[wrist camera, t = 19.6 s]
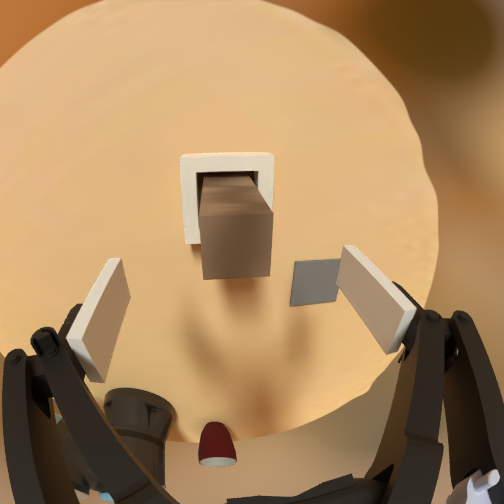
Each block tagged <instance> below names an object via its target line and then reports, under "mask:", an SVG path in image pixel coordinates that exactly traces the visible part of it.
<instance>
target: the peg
mask: <svg viewBox="0 0 504 504" xmlns="http://www.w3.org/2000/svg"><path fill="white" fill-rule="evenodd" d="M199 227H200V242H201V256H202V269H203V280H212V279H231V278H249V277H266V276H270V265H271V248H272V230H273V212H272V211H271V209H270V207H269V206H268V204H267V203H266V201H265V200H264V198H263V196H262V195H261V193H260V192H259V190H258V189H257V187H256V186H255V184H254V183H253V181H252V180H251V178H250V176H249V175H248V173H247V172H228V173H204V180H203V188H202V195H201V203H200V211H199Z"/></svg>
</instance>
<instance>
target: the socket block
mask: <svg viewBox="0 0 504 504" xmlns="http://www.w3.org/2000/svg"><path fill="white" fill-rule="evenodd" d="M218 171H254V184H255V186H256V187H257V189H258V190H259V192H260V193H261V195H262V196H263V198H264V200H265V201H266V203H267V204H268V206H269V207H270V209H271V211H272V201H273V178H274V155H272V154H270V153H269V152H223V153H196V154H183V155H182V156H181V157H180V176H181V193H182V208H183V221H184V233H185V244H201V242H200V227H199V193H198V172H218Z"/></svg>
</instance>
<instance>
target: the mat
mask: <svg viewBox="0 0 504 504" xmlns="http://www.w3.org/2000/svg"><path fill="white" fill-rule="evenodd" d="M340 261H341V259H327V260H311V261H295V264H294V273H293V282H292V290H291V299H290V306H297V305H307V304H316V303H325V302H333V301H336V297H337V293H338V289H339V287H338V285H337V284H336V282H337V277H338V272H339V266H340Z"/></svg>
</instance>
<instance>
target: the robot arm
mask: <svg viewBox="0 0 504 504" xmlns="http://www.w3.org/2000/svg"><path fill="white" fill-rule="evenodd" d="M336 284H337V285H338V287H339V288H340V290H341V291H342V292H343V294H344V295H345V296H346V298H347V299H348V301H349V302H350V303H351V305H352V306H353V308H354V309H355V310H356V312H357V313H358V315H359V316H360V318H361V319H362V320H363V322H364V323H365V325H366V326H367V328H368V329H369V330H370V332H371V333H372V335H373V336H374V338H375V339H376V341H377V342H378V344H379V345H380V347H381V348H382V350H383V351H384V353H385V354H386V355H387V354H390V353H393V352H397V351H398V349H399V347H400V345H401V343H403V344H404V346H405V349H404V351H403V353H402V355H401V357H400V359H399V361H398V363H400V361H401V366H400V371H399V376H398V381H397V385H396V389H395V394H394V398H393V402H392V406H391V410H390V413H389V417H388V421H387V424H386V427H385V430H384V434H383V437H382V440H381V443H380V446H379V449H378V452H377V454H376V457H375V460H374V462H373V464H372V466H371V467H370V469H369V470H368V472H367V473H366V475H365V477H364V478H353V476H352V474H349V475H346V476H342V477H339V478H336V479H333V480H330V481H326V482H323V483H321V484H319V485H317V486H315V487H314V488H311V489H310V490H307V491H305V492H303V493H301V494H300V495H297V496H294V497H277V496H276V497H275V496H252V497H243V498H231V499H227V503H225V504H431V501H432V498H433V495H434V491H435V487H436V483H437V479H438V475H439V471H440V466H441V461H442V456H443V448H444V446H443V444H442V443H439V442H438V434H439V427H440V420H441V411H442V401H444V407H445V414H446V422H447V432H448V443H449V459H450V476H451V482H452V487H453V492H452V494H451V495H450V496H448V498H447V501H446V503H447V504H504V403H503V400H502V396H501V393H500V389H499V386H498V383H497V380H496V377H495V374H494V371H493V368H492V365H491V363H490V360H489V357H488V355H487V352H486V350H485V347H484V345H483V342H482V340H481V338H480V335H479V333H478V331H477V329H476V327H475V324H474V322H473V320H472V318H471V317H470V316H469V315H468V314H467V313H466V312H464V311H455V312H454V313H453V315H452V317H451V318H450V319H449V318H442V317H441V315H440V314H438V313H437V312H435V311H433V310H424V309H423V308H422V307H421V306H420V305H419V304H418V303H417V302H416V301H415V300H414V299H413V298H412V297H410V295H409V294H408V293H407V292H406V290H405V289H404V288H403V287H402V286H400V285H399V284H397V283H395V282H394V281H392V282H391V281H390V280H389V279H388V278H387V277H386V276H385V275H384V274H383V273H382V272H381V271H380V270H379V269H378V268H377V267H376V266H375V265H374V264H373V263H372V262H371V261H370V260H369V259H368V258H367V257H366V256H365V255H364V254H363V253H362V252H361V251H360V250H359V249H357V248H356V247H355V246H354V245H345V246H343V250H342V256H341V261H340V266H339V272H338V277H337V282H336ZM130 298H131V297H130V293H129V289H128V285H127V281H126V277H125V272H124V268H123V264H122V259H121V258H109V260H108V261H107V263H106V264H105V266H104V268H103V269H102V271H101V273H100V275H99V276H98V278H97V280H96V281H95V283H94V285H93V287H92V289H91V290H90V292H89V294H88V296H87V298H86V299H85V301H84V303H83V304H76V305H75V306H74V307H73V308H72V309H71V310H70V312H69V314H68V316H67V318H66V319H65V321H64V324H63V325H62V327H61V329H60V331H59V333H58V335H57V333H56V331H55V330H54V328H51V327H43V328H40V329H39V330H37V331H36V332H35V333H34V334H33V335H32V337H31V345H32V347H33V348H34V350H35V352H36V353H37V355H32V356H27V355H26V353H25V352H24V350H22V349H14V350H12V351H11V352H9V353H8V354H7V356H6V357H5V362H4V371H3V389H2V417H3V435H4V446H5V454H6V461H7V467H8V473H9V479H10V483H11V488H12V492H13V496H14V500H15V504H80V503H79V502H80V501H82V500H84V499H86V498H88V497H89V490H90V489H92V490H95V491H98V492H100V493H99V496H100V499H102V500H103V501H107V502H112V503H114V504H180V503H179V502H177V501H176V500H175V499H174V498H173V497H172V496H170V494H169V493H168V492H167V491H166V490H165V488H166V486H165V441H166V439H167V437H168V434H169V432H170V430H171V428H172V425H173V423H174V408H173V407H172V405H171V404H170V403H169V402H167V401H166V400H164V399H163V398H161V397H159V396H157V395H155V394H152V393H149V392H146V391H142V390H138V389H131V388H118V389H113V390H111V391H109V392H108V393H107V394H106V396H105V400H104V412H105V415H104V413H103V412H102V410H101V409H100V407H99V406H98V404H97V402H96V401H95V399H94V397H93V396H92V394H91V392H90V391H89V389H88V387H87V385H86V384H85V382H84V377H85V374H86V375H87V377H88V379H89V380H90V382H98V383H105V381H106V377H107V373H108V369H109V365H110V362H111V358H112V354H113V351H114V347H115V344H116V341H117V337H118V334H119V331H120V328H121V325H122V321H123V318H124V315H125V312H126V309H127V306H128V303H129V301H130ZM457 350H458V355H457ZM52 397H54V399H55V401H56V403H57V406H58V408H59V410H60V413H61V415H62V416H60V415H58V414H56V413H55V412H54V406H53V399H52Z"/></svg>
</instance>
